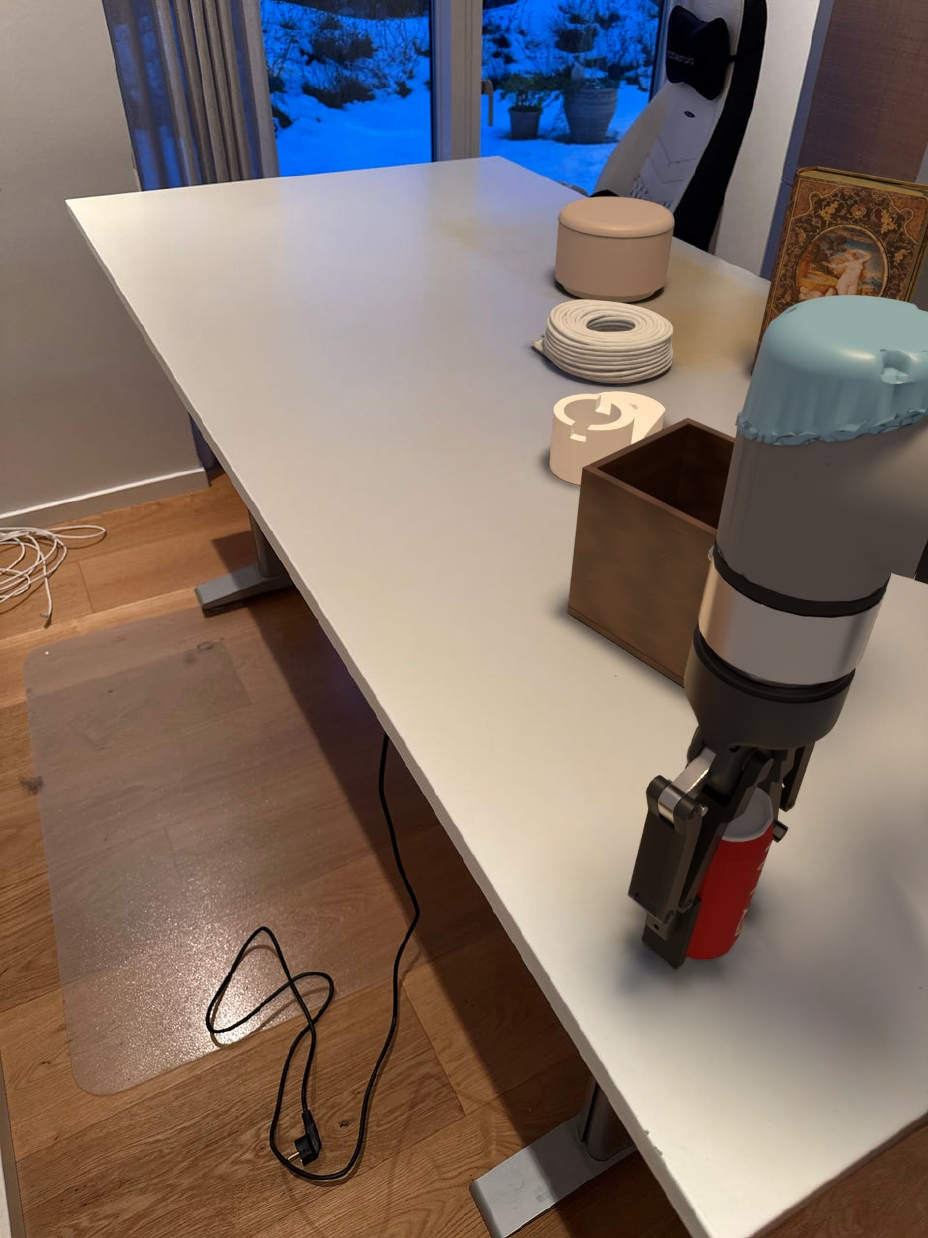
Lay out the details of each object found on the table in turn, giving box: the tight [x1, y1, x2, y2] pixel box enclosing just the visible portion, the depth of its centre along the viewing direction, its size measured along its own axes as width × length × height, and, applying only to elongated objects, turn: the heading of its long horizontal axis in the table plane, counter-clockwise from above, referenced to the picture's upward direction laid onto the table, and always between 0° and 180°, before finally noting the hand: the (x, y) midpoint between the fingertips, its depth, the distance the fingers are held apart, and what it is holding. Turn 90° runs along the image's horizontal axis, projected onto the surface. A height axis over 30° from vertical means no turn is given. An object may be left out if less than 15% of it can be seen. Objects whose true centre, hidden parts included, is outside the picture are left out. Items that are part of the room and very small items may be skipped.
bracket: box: [549, 390, 666, 486], centre depth 105 cm, size 20×9×7 cm, turn 152°
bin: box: [567, 417, 735, 688], centre depth 77 cm, size 17×14×15 cm
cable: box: [530, 298, 674, 384], centre depth 125 cm, size 18×18×6 cm
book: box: [750, 165, 928, 376], centre depth 113 cm, size 16×6×25 cm, turn 51°
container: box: [554, 196, 676, 303], centre depth 146 cm, size 18×18×12 cm
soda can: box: [686, 787, 774, 961], centre depth 54 cm, size 6×6×12 cm
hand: (693, 921), depth 58 cm, fingers closed on soda can, 5 cm apart
